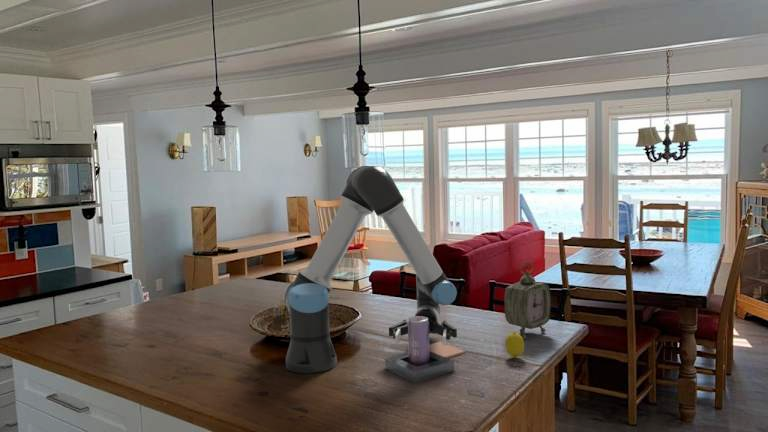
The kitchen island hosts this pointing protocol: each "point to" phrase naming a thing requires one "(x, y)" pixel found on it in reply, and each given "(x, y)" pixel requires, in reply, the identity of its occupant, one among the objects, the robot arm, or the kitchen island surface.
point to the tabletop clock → (527, 303)
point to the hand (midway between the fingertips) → (420, 340)
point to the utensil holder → (280, 320)
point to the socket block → (419, 367)
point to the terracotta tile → (445, 350)
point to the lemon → (514, 344)
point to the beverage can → (418, 340)
